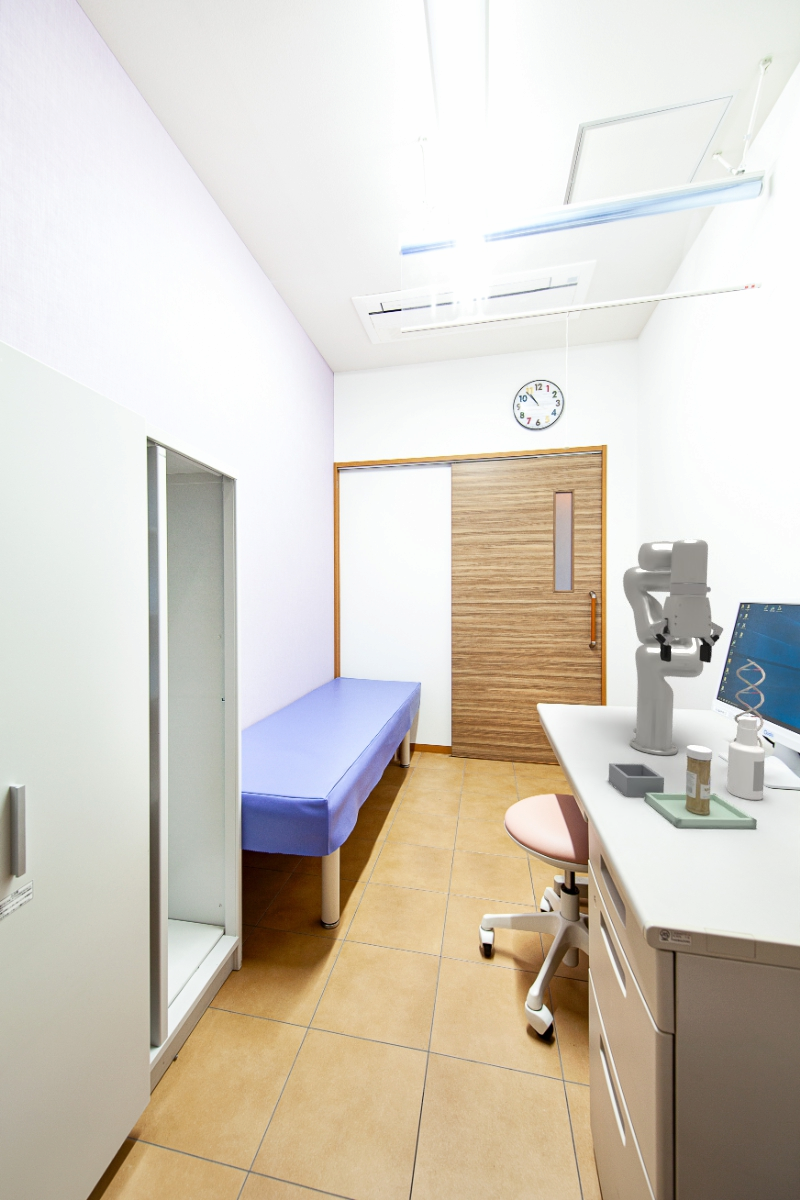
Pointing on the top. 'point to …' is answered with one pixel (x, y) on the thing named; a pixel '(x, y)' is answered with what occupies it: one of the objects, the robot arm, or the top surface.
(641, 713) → the robot arm
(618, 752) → the top surface
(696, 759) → the sprinkles bottle
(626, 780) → the holder
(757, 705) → the dna model
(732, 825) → the tray
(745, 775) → the white bottle
